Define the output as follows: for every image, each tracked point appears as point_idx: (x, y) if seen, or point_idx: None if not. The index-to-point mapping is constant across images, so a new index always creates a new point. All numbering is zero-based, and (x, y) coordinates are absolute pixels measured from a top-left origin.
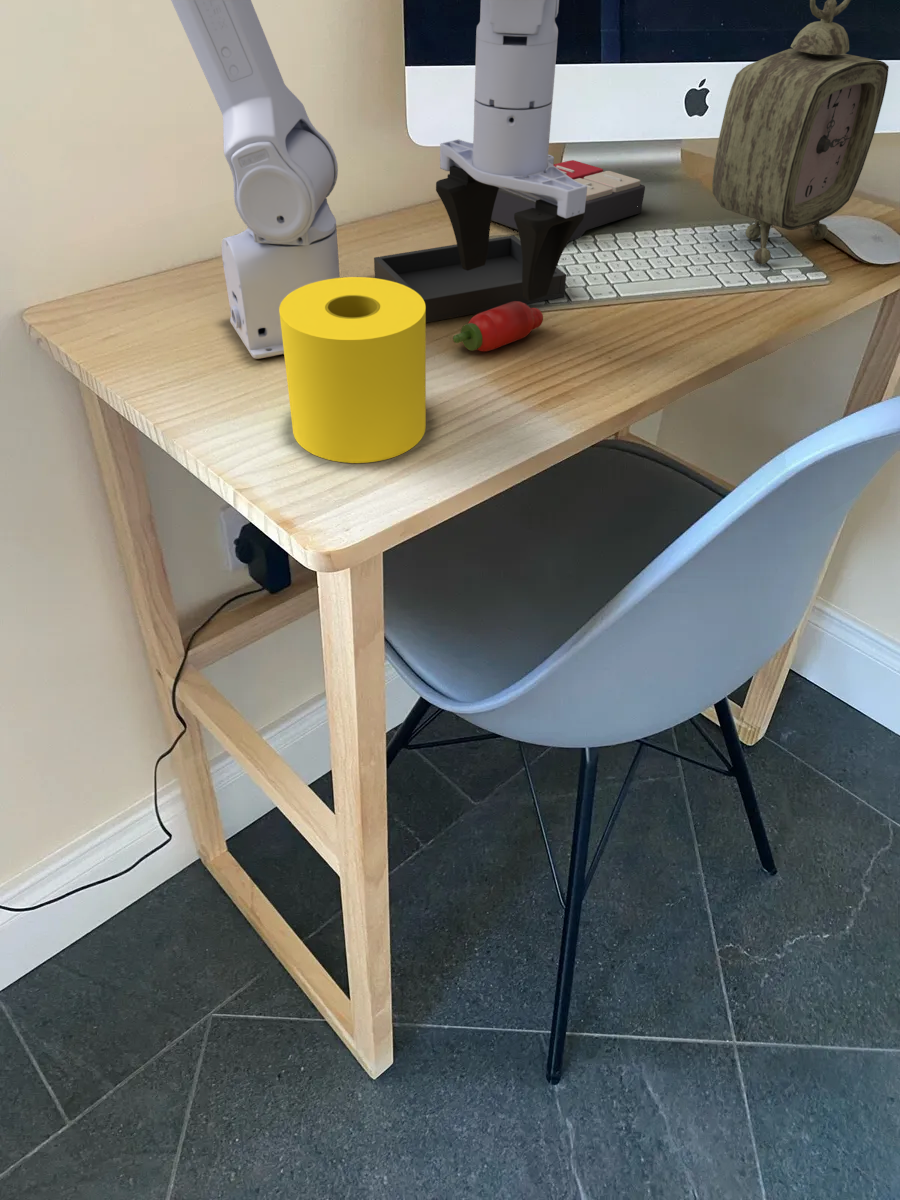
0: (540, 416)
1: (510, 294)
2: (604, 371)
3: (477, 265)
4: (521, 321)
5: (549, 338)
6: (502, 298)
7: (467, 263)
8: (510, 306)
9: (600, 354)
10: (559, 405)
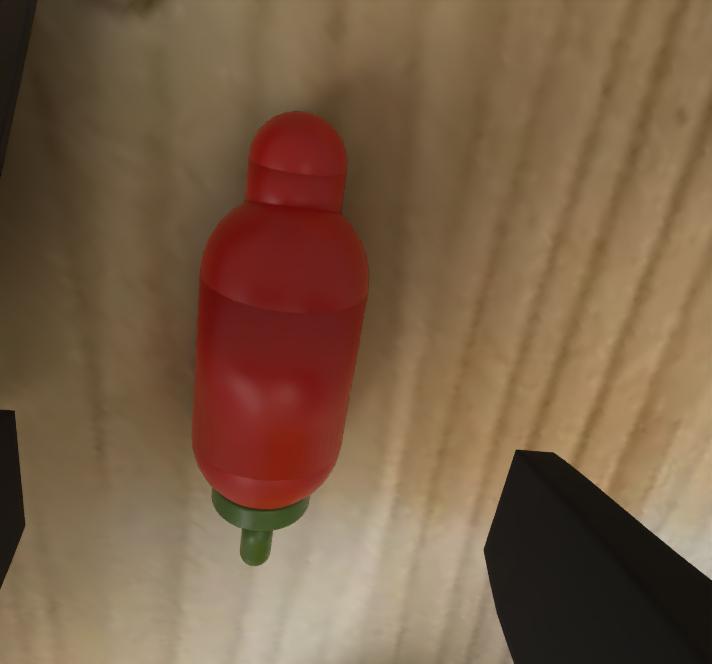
0: None
1: (8, 12)
2: (701, 222)
3: (14, 469)
4: (356, 334)
5: (394, 149)
6: (5, 62)
7: (5, 554)
8: (288, 360)
9: (637, 116)
10: (657, 473)
